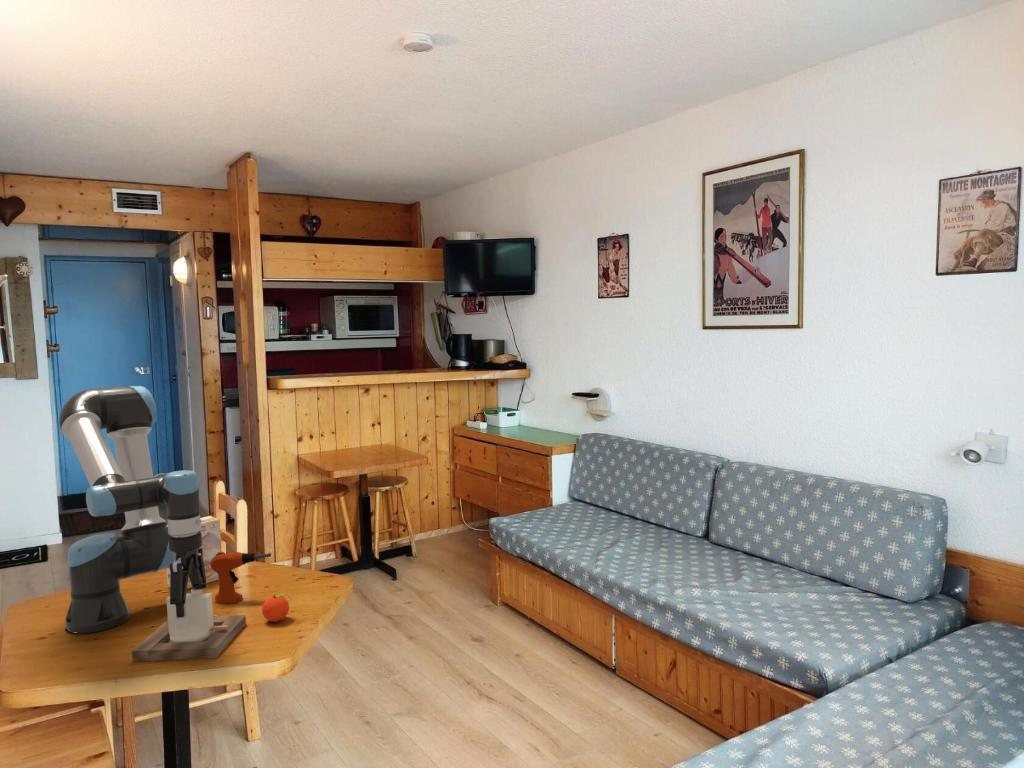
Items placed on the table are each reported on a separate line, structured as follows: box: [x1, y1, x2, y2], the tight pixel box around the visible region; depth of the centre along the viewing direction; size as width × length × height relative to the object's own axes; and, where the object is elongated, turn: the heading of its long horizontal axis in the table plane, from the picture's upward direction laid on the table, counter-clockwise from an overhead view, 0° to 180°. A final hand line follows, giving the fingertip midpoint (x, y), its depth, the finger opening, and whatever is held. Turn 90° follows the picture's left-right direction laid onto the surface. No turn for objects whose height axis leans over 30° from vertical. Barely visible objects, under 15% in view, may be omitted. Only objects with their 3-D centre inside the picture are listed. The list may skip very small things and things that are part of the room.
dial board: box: [131, 614, 247, 662], centre depth 183 cm, size 20×20×3 cm
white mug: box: [166, 592, 228, 643], centre depth 182 cm, size 14×10×11 cm
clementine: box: [261, 593, 291, 623], centre depth 195 cm, size 8×7×7 cm
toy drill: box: [210, 551, 272, 604], centre depth 210 cm, size 5×19×15 cm, turn 86°
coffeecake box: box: [165, 515, 222, 590], centre depth 227 cm, size 15×7×20 cm, turn 139°
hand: (190, 621), depth 182 cm, fingers open, 8 cm apart
